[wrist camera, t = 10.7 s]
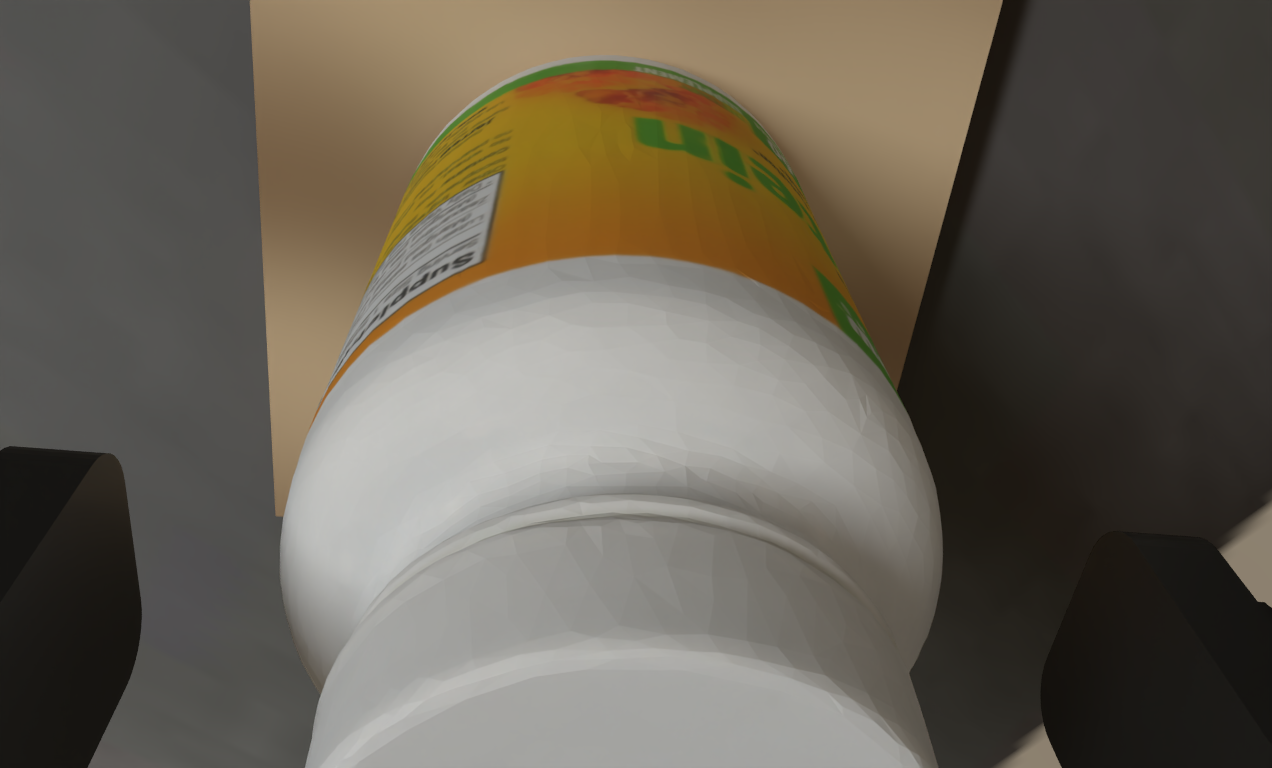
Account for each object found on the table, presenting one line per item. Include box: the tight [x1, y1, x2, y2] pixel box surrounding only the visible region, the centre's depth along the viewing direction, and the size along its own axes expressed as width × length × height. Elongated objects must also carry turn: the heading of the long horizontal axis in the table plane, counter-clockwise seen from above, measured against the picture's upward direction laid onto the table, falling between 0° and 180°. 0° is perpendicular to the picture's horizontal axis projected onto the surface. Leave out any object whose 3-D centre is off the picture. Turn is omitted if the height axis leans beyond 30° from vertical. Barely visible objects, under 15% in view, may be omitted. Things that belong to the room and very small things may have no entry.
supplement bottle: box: [280, 55, 943, 768], centre depth 11 cm, size 5×5×10 cm
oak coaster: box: [250, 0, 1003, 517], centre depth 15 cm, size 9×9×1 cm
